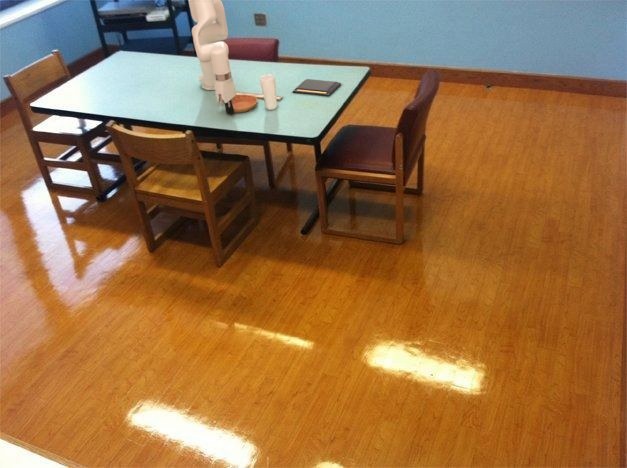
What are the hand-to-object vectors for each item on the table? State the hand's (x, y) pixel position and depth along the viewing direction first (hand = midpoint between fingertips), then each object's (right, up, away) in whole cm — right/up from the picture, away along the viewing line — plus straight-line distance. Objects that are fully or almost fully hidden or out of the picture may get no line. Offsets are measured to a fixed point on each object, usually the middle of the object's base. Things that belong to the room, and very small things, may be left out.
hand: (230, 113), depth 277 cm
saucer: (+4, +4, +8) cm, 10 cm away
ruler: (+9, +12, +17) cm, 22 cm away
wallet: (+40, +16, +17) cm, 46 cm away
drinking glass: (+19, +3, +4) cm, 20 cm away
